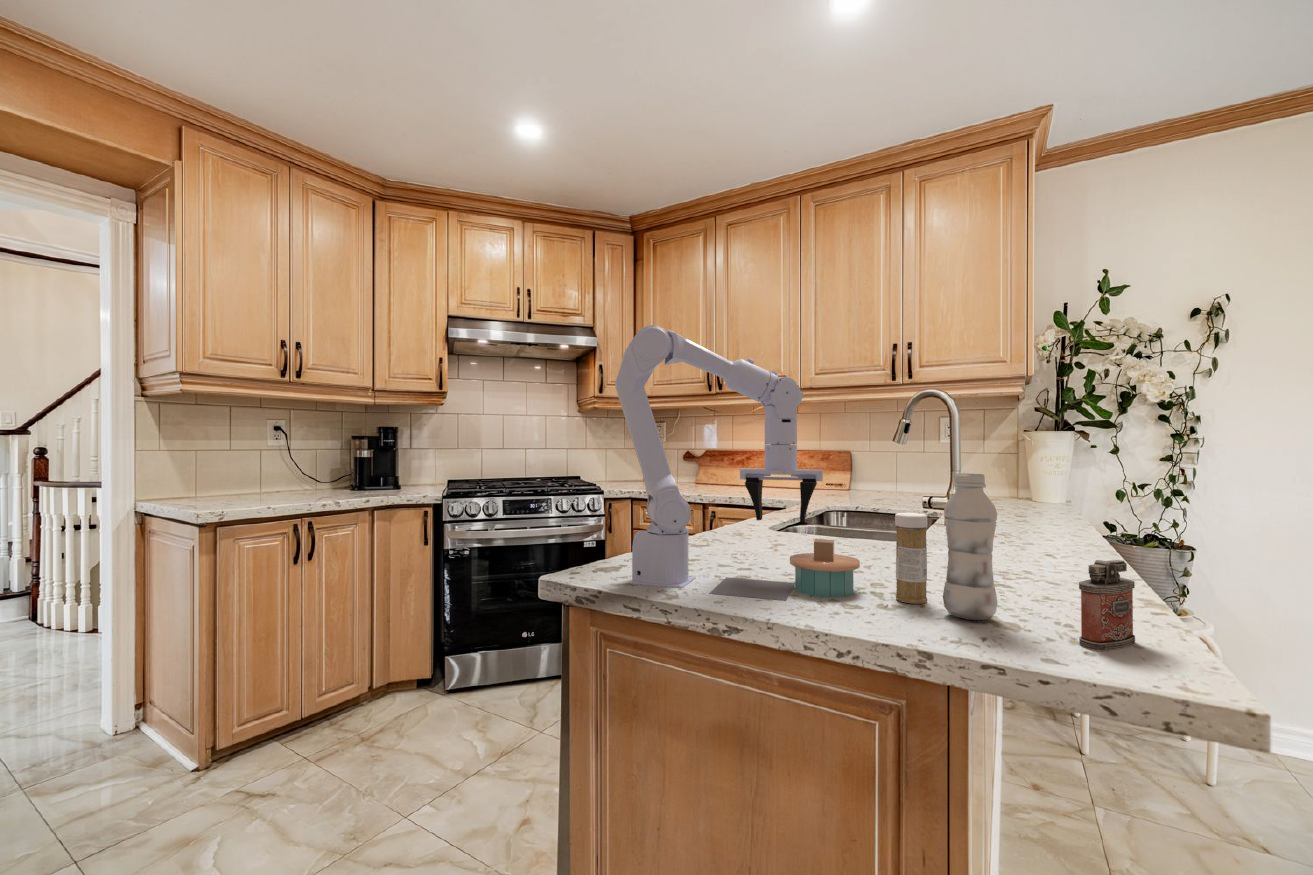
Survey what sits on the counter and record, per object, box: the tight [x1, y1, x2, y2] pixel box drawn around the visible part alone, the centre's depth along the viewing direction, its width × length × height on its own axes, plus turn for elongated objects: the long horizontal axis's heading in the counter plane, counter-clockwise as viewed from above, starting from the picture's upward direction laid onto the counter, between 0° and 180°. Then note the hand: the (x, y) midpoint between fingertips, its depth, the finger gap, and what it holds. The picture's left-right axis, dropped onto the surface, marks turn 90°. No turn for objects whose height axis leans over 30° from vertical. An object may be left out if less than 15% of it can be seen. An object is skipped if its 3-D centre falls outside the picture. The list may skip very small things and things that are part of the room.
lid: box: [789, 538, 861, 572], centre depth 95 cm, size 11×11×4 cm
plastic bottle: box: [942, 472, 998, 621], centre depth 81 cm, size 6×7×20 cm
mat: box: [708, 576, 795, 602], centre depth 96 cm, size 12×12×1 cm
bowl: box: [794, 566, 854, 598], centre depth 95 cm, size 9×9×4 cm
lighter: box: [1078, 559, 1136, 652], centre depth 70 cm, size 8×3×10 cm, turn 114°
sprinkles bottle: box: [894, 512, 928, 605], centre depth 90 cm, size 5×5×14 cm
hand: (780, 520), depth 104 cm, fingers open, 7 cm apart
